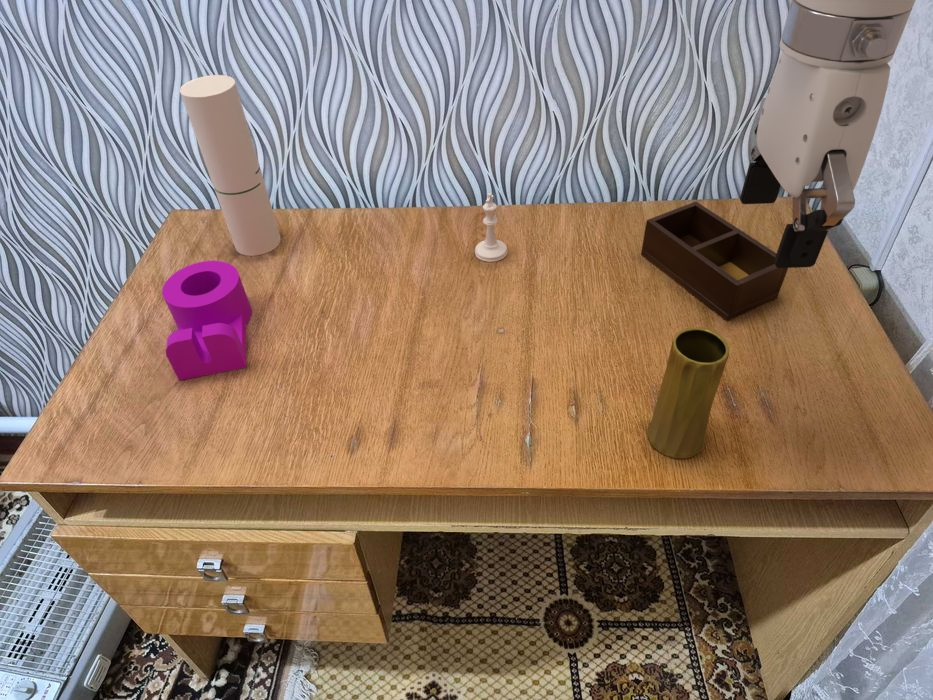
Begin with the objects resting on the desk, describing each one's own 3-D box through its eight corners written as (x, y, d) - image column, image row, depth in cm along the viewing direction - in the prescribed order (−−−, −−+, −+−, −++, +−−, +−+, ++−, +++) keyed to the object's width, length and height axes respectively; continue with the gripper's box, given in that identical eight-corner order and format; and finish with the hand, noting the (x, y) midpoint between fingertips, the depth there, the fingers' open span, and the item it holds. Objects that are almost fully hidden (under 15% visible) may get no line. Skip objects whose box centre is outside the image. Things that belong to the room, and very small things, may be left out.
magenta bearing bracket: (181, 303, 95) (165, 268, 90) (251, 290, 96) (239, 255, 92) (172, 381, 83) (154, 346, 79) (252, 366, 85) (238, 330, 80)
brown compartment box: (688, 235, 101) (696, 201, 96) (777, 298, 89) (790, 262, 85) (640, 254, 98) (646, 219, 94) (726, 321, 86) (737, 285, 82)
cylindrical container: (286, 230, 107) (242, 74, 90) (272, 256, 102) (223, 97, 84) (244, 229, 108) (192, 75, 90) (228, 255, 103) (170, 97, 85)
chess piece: (469, 257, 99) (465, 199, 92) (483, 239, 102) (481, 182, 95) (498, 265, 97) (497, 206, 90) (512, 247, 101) (512, 189, 94)
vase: (690, 469, 70) (719, 377, 60) (637, 442, 73) (657, 350, 63) (712, 432, 74) (744, 339, 64) (661, 408, 76) (684, 315, 67)
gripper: (961, 75, 40) (857, 293, 52) (846, -12, 53) (784, 180, 65) (835, 81, 41) (761, 296, 52) (750, -8, 53) (706, 183, 65)
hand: (774, 232), depth 59 cm, fingers open, 9 cm apart
